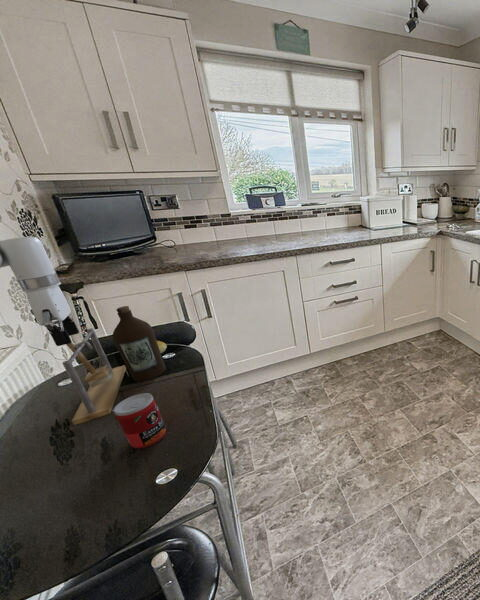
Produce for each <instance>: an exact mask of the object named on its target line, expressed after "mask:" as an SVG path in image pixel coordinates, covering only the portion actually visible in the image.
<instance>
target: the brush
mask: <svg viewBox="0 0 480 600" xmlns="http://www.w3.org/2000/svg"><path fill="white" fill-rule="evenodd" d="M82 341H83V340H82ZM82 341H81V342H79V343H76V344H75V343H74V342H73V341H72V342H71V343H69V344H65V345H66V346H67V347H68V348H69V350H70V351H71V352H72V354H73V353H74V352H75V350H76V349H77V348H78V346H80V345H82V344H85V345H86V346H87V347H88V348H89V349H90V350H92V349H93V346H92V344H91V343H90V342H89V340H87V341H83V342H82ZM76 358H77V359H78V360H79V362H80V363H81V364H82V365H83V366H84V367H85V369H86V370H87V371H88V372H87V374H86V375H85V378H84V381H86V382H87V384H88V385H89V387H90V386H91V387H92V388H93V387H95V386H97V385H100V384H102V383H104V382H106V381H109V380H111V378H112V376H113V372H112V371H111V370H110V369H109V367H108V366H107V365H105V366H104V365H103V366H100V367H97V368H96V369H95V367H94V366H93V365H92V364H91V362H90V361H89V360H88V359H87V358H86V356H84V354H83V353H82V351H80V352H79V353H78V355H77V356H76Z"/></svg>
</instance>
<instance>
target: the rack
mask: <svg viewBox="0 0 480 600" xmlns="http://www.w3.org/2000/svg"><path fill="white" fill-rule="evenodd" d="M86 332H87V334H86V335H85V336H84V338H83V339H82V340H81V342H83V341H89V339H90V340H91V342H92V345H93V346H94V349H95V351H96V353H97V355H98V357H99V359H100V361H101V363H102V365H103V366H105V365H107V366H108V367H109V369H110V370H111V371H112V372H113V376H112V378H111V380H109V381H106V382H104V383H102V384H100V385H97V386H95V387H93V388H92V387H91V386H90V385H89V387H88V389H87V390H86V388H85V386H84V384H83V381H82V380H81V378H80V377H79V374H78V372H77V371H76V369H75V366H74V365H73V362H74V361H75V359H76V358H77V357H76V356H77V355H78V353H79V352H82V349H83V348H84V347H85V345H86V343H85V344H82V345H80V346H77V349H76V350H75V352H74V353H73V352H72V354H71V356H70V357H69V359H67V360H64V361H63V362H62V365H63V367H64V370H65V371H66V373H67V375H68V377H69V379H70V381H71V382H72V385H73V387H74V388H75V390H76V393H77V394H78V397H79V398H80V400H81V403H80V404H79V407H78V408H77V410H76V412H75V414H74V415H73V418H72V420H71V422H72V425H73V426H77V425H80V424H82V423H85V422H89V421H91V420H95V419H98V418H101V417H104V416H106V415H109V414H111V413H112V410H113V408H114V404H115V401H116V398H117V396H118V393H119V390H120V388H121V384H122V382H123V379H124V376H125V374H126V371H127V366H126V364H125V365H124V364H123V365H121V366H116V367H113V368H112V366H111V364H110V361H109V360H108V356H107V355H106V353H105V351H104V349H103V347H102V344H101V343H100V340H99V337H98V336H97V334H96V332H95V330H94V328H93V327H91V328H90V327H89V328H87V329H86ZM124 373H125V374H124ZM111 409H112V410H111Z"/></svg>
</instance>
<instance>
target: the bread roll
mask: <svg viewBox="0 0 480 600" xmlns="http://www.w3.org/2000/svg"><path fill="white" fill-rule="evenodd" d="M157 343H158V346H159V350H160V353H161V354H163V353H164V352H166V350H167V347H168V346H167V344H166V343H165V342H163V341H160V340H157Z"/></svg>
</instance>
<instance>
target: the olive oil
mask: <svg viewBox="0 0 480 600" xmlns="http://www.w3.org/2000/svg"><path fill="white" fill-rule="evenodd" d="M116 312H117V316H118V318H119V321H118V324H117V325H116V326H115V328H114V330H113V332H112V341H113V343H114V345H115V347H116V349H117V351H118V352H119V354H120V356H121V358H122V360H123V362H124V364H125V367H126V369H127V370H128V371H129V374H130V375H131V378H132V380H133V381H134V382H138V383H139V382H145V381H149V380H152V379H155V378H157V377H159V376H161V375H162V374H163V373H165V371H166V369H167V367H166V365H165V364H166V363H165V362H164V359H163V356H162V353H160V350H159V346H158V343H157V341H158V340H157V337H156V335H155V330H154V328H153V327H152V326H151V324H149V322H148V321H145V320H142V319H140V318H137V317H135V316H133V313H132V310H131V309H130V306H129V305H124V306H119V307H117V308H116Z"/></svg>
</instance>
